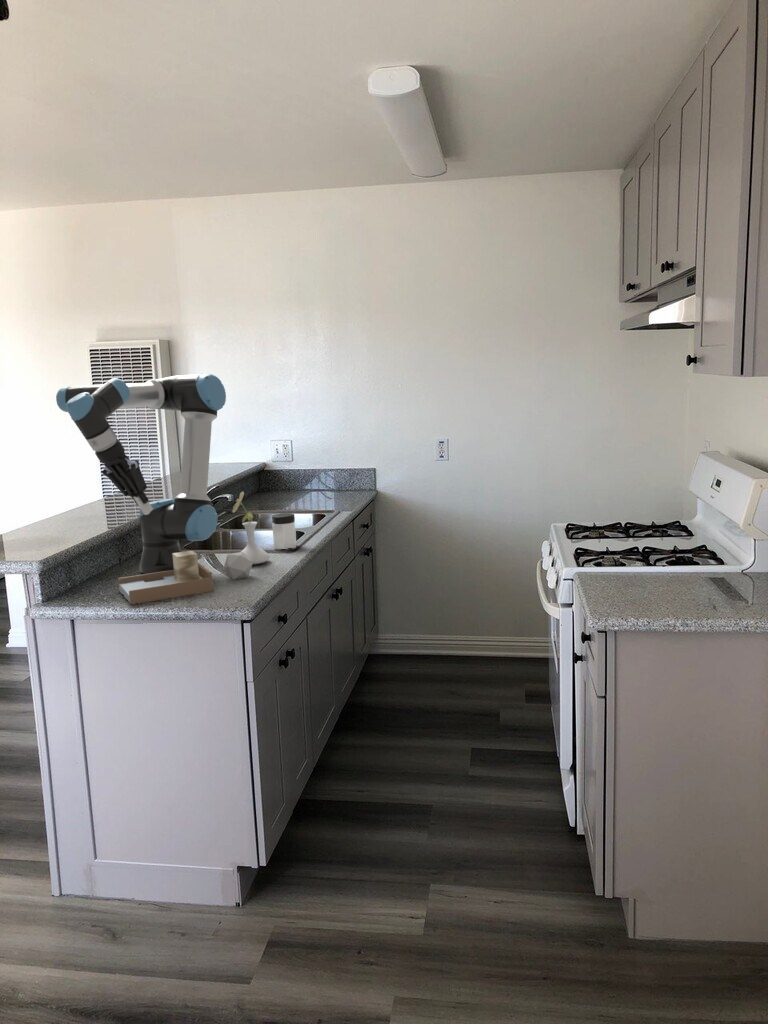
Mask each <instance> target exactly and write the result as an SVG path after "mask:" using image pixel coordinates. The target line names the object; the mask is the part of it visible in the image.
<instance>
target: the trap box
mask: <svg viewBox="0 0 768 1024" xmlns="http://www.w3.org/2000/svg"><path fill="white" fill-rule="evenodd" d="M198 570H199V579H198V580H192V581H185V582H178V581H177V580H175V576H174V570H169V571H163V572H156V573H149V574H145V573H142V574H137V575H132V576H131V575H130V576H123V577H118V591H119V592H120V594H121V595H122V594H123V595H124V596H123V595H122V596H123V597H124V599H127V600H128V601H129V602H130V603H129V602H128V601H127V600H126V601H127V602H128V603H129V605H131V604H132V605H135V604H134V603H138V604H142V603H144V604H145V603H149V602H154V601H160V600H165V599H173V598H179V597H183V596H184V597H185V596H191V595H196V594H202V593H203V594H204V593H207V592H213V591H214V580H213V573H212V571H211V570H209V569H208V568H206V567H205V566H203V565H202V564H200V563H199V562H198Z"/></svg>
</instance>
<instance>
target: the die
mask: <svg viewBox="0 0 768 1024" xmlns="http://www.w3.org/2000/svg"><path fill="white" fill-rule="evenodd" d="M252 564H253V562H252V561H251V560H250V559H249V558H248V557H247V556H246V555H245V554H244V553H243V552H241V551H239V552H235V553H234V552H233V553H228V554H227V556H226V559H225V562H224V566H223V568H222V571H224V573H226V574H227V575H228V576H229V577H230V578H231V579H232V580H233V581H235V580H241V579H246V578H249V576H250V574H251V570H252V566H253V565H252Z"/></svg>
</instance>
